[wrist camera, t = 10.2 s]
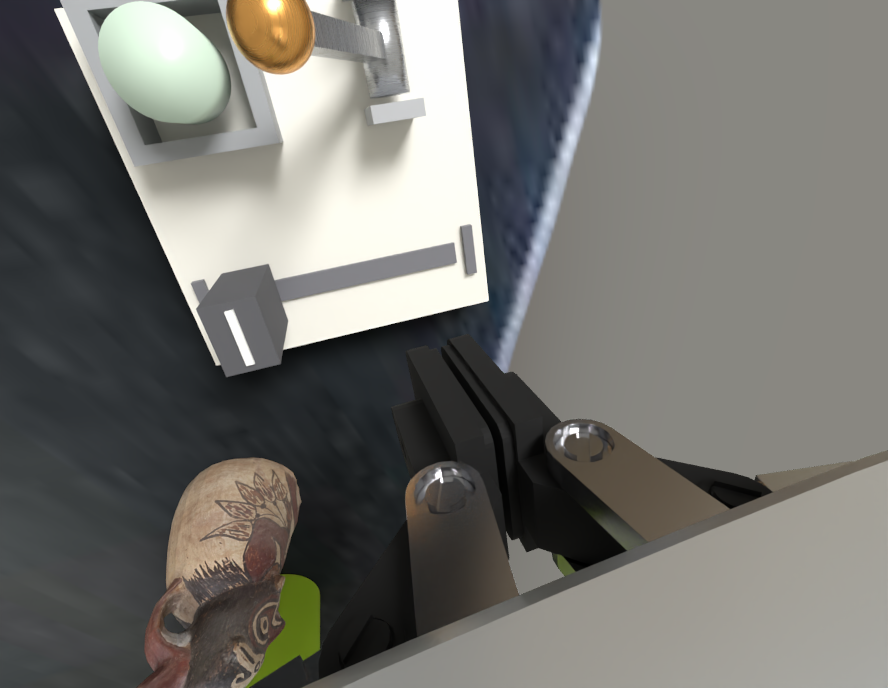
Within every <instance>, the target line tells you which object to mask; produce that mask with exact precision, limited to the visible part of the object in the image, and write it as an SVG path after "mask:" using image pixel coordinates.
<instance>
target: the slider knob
mask: <svg viewBox="0 0 888 688" xmlns="http://www.w3.org/2000/svg"><path fill="white" fill-rule="evenodd" d="M196 311H197V313H198V315H199V317H200V320H201V322H202V324H203V326H204V328H205V331H206V333H207V335H208V337H209V340H210V342H211V344H212V346H213V348H214V351H215V353H216V355H217V357H218V360H219V362H220V364H221V366H222V369H223V371H224V373H225V375H226V377H229V376H233V375H237V374H241V373H246V372H250V371H254V370H258V369H262V368H266V367H270V366H274V365H279V364H281V359H282V353H283V348H284V342H285V337H286V331H287V326H288V318H287V315H286V313H285V310H284V307H283V304H282V301H281V298H280V295H279V292H278V289H277V286H276V284H275V281H274V278H273V275H272V272H271V269H270V266H269V264H265V265H260V266H256V267H251V268H246V269H241V270H236V271H231V272H227V273H222V274H221V275H220V276H219V278H218V279H217V281H216V282H215V283H214V285H213V286H212V287H211V289H210V290H209V292H208V293H207V294H206V296H205V297H204V298H203V300H202V301H201V303H200V304H199V305H198V307H197V308H196Z"/></svg>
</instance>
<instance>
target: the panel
mask: <svg viewBox="0 0 888 688" xmlns="http://www.w3.org/2000/svg"><path fill="white" fill-rule="evenodd" d="M60 1H61V3H62V6H63V8H58V9H54V10H55V12H56V14H57V17H58V19H59V21H60V23H61V25H62V28H63V30H64V32H65V34H66V36H67V39H68V41H69V43H70V45H71V47H72V50H73V52H74V54H75V56H76V58H77V61H78V63H79V65H80V67H81V69H82V72H83V74H84V76H85V78H86V80H87V82H88V85H89V87H90V89H91V91H92V93H93V96H94V98H95V100H96V102H97V104H98V107H99V109H100V111H101V113H102V115H103V118H104V120H105V122H106V124H107V126H108V129H109V131H110V133H111V135H112V137H113V140H114V142H115V144H116V146H117V148H118V151H119V153H120V155H121V157H122V159H123V162H124V164H125V166H126V168H127V170H128V173H129V175H130V177H131V179H132V181H133V184H134V186H135V188H136V190H137V192H138V195H139V197H140V199H141V201H142V203H143V206H144V208H145V210H146V212H147V214H148V216H149V219H150V221H151V223H152V225H153V227H154V230H155V232H156V234H157V236H158V238H159V241H160V243H161V245H162V247H163V249H164V252H165V254H166V256H167V258H168V260H169V263H170V265H171V267H172V269H173V271H174V274H175V276H176V278H177V280H178V282H179V285H180V287H181V289H182V291H183V293H184V296H185V298H186V300H187V302H188V304H189V307H190V309H191V311H192V313H193V315H194V318H195V320H196V322H197V324H198V326H199V329H200V331H201V333H202V335H203V337H204V339H205V342H206V344H207V346H208V348H209V350H210V353H211V355H212V357H213V359H214V361H215V364H216V366H217V365H221V364H220V362H219V360H218V357H217V355H216V353H215V351H214V348H213V346H212V344H211V342H210V340H209V337H208V335H207V333H206V331H205V328H204V326H203V324H202V322H201V320H200V317H199V315H198V313H197V311H196V308H197V307H198V305H199V304H200V303H201V301H202V300H203V298H204V297H205V296H206V294H207V293H208V292H209V290H210V289H211V287H212V286H213V285H214V283H215V282H216V281H217V279H218V278H219V276H220V275H221V274H222V273H227V272H231V271H236V270H241V269H246V268H251V267H256V266H260V265H265V264H269V266H270V269H271V272H272V275H273V278H274V281H275V284H276V286H277V289H278V292H279V295H280V298H281V301H282V304H283V307H284V310H285V313H286V315H287V318H288V326H287V331H286V337H285V342H284V348H283V350H284V349H288V348H293V347H297V346H301V345H305V344H309V343H314V342H318V341H322V340H326V339H330V338H335V337H339V336H343V335H347V334H352V333H356V332H360V331H364V330H368V329H373V328H377V327H381V326H385V325H389V324H394V323H398V322H402V321H406V320H410V319H415V318H419V317H423V316H427V315H431V314H436V313H440V312H444V311H448V310H452V309H457V308H461V307H465V306H469V305H473V304H478V303H482V302H486V301H489V298H488V288H487V279H486V269H485V259H484V250H483V240H482V231H481V221H480V211H479V202H478V192H477V182H476V173H475V163H474V154H473V144H472V134H471V125H470V115H469V105H468V96H467V86H466V77H465V67H464V57H463V48H462V38H461V28H460V19H459V9H458V0H396V3H397V10H398V16H399V23H400V29H401V35H402V42H403V48H404V54H405V61H406V67H407V74H408V80H409V86H410V93H406V94H402V95H397V96H391V97H384V98H376V99H370V96H369V91H368V86H367V81H366V76H365V71H364V66H363V63H361V62H354V61H347V60H340V59H332V58H325V57H318V56H310V58H309V60H308V61H307V62H306V64H305V65H304V66H303V67H301V68H300V69H299V70H297V71H295V72H293V73H290V74H284V75H276V74H271V73H267V72H265V71H262V70H260V69H258V68H257V67H255V66H254V65H253V64H251V63H250V62H249V61H248V60H247V59H246V58H245V57H244V56H243V55H242V54H241V53H240V51H239V50H238V49H237V47H236V45H235V44H234V42H233V40H232V37H231V35H230V32H229V29H228V26H227V20H226V3H227V0H60ZM138 1H144V2H152V3H156V4H160V5H162V6H165V7H167V8H169V9H171V10H173V11H175V12H176V13H178V14H179V15H181V16H182V17H184V18H185V19H186V20H187V21H188V22H190V23H191V24H192V25H193V26H194V27H195V28H197V29H198V30H199V31H200V32H201V33H202V34H204V35H205V36H206V37H207V38H208V39H209V40H210V41H211V42H212V43H213V44H214V45H215V46H216V47H217V49H218V50H219V51H220V53H221V54H222V56H223V58H224V60H225V62H226V64H227V67H228V69H229V73H230V78H231V95H230V99H229V102H228V104H227V106H226V108H225V110H224V111H223V112H222V113H221V114H220V115H219V116H218V117H217V118H215V119H214V120H212V121H210V122H207V123H203V124H181V123H169V122H162V121H158V120H155V119H152V118H149V117H147V116H145V115H143V114H141V113H139V112H138V111H136V110H135V109H133V108H132V107H131V106H129V105H128V104H127V103H126V102H125V101H124V100H123V99H122V98H121V97H120V96H119V95H118V94H117V93H116V91H115V90H114V89H113V87H112V86H111V84H110V83H109V81H108V79H107V77H106V75H105V73H104V71H103V68H102V66H101V62H100V58H99V52H98V38H99V32H100V29H101V26H102V24H103V22H104V20H105V19H106V18H107V16H108V15H109V14H110V13H111V12H112V11H113V10H114V9H116V8H118V7H119V6H121V5H124V4H126V3H130V2H138ZM352 1H353V0H306V2H307V4H308V6H309V8H310V11H314V12H317V13H320V14H324V15H327V16H330V17H333V18H337V19H340V20H343V21H347V22H350V23H353V24H355V20H354V15H353V10H352V4H351V2H352Z"/></svg>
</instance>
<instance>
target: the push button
mask: <svg viewBox="0 0 888 688" xmlns="http://www.w3.org/2000/svg"><path fill="white" fill-rule="evenodd" d="M98 52H99V58H100V62H101V66H102V68H103V71H104V73H105V75H106V77H107V79H108V81H109V83H110V84H111V86H112V87H113V89H114V90H115V91H116V93H117V94H118V95H119V96H120V97H121V98H122V99H123V100H124V101H125V102H126V103H127V104H128V105H129V106H131V107H132V108H133V109H135V110H136V111H138V112H139V113H141V114H143V115H145V116H147V117H149V118H152V119H155V120H158V121H162V122H169V123H181V124H203V123H207V122H210V121H212V120H214V119H215V118H217V117H218V116H219V115H220V114H221V113H222V112H223V111H224V110H225V108H226V106H227V104H228V102H229V99H230V95H231V78H230V73H229V69H228V67H227V64H226V62H225V60H224V58H223V56H222V54H221V53H220V51H219V50H218V49H217V47H216V46H215V45H214V44H213V43H212V42H211V41H210V40H209V39H208V38H207V37H206V36H205V35H204V34H202V33H201V32H200V31H199V30H198V29H197V28H195V27H194V26H193V25H192V24H191V23H190V22H188V21H187V20H186V19H185V18H184V17H182V16H181V15H179V14H178V13H176V12H175V11H173V10H171V9H169V8H167V7H165V6H162V5H160V4H156V3H152V2H144V1H138V2H130V3H126V4H124V5H121V6H119V7H118V8H116V9H114V10H113V11H112V12H111V13H110V14H109V15H108V16H107V18H106V19H105V20H104V22H103V24H102V26H101V29H100V32H99V38H98Z"/></svg>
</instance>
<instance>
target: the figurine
mask: <svg viewBox="0 0 888 688" xmlns="http://www.w3.org/2000/svg"><path fill="white" fill-rule="evenodd" d="M300 504H301V499H300V495H299V487H298V486H297V482H296V478H295V476H294V474H293V472H291V471H290V470H289V469H288V468H286V467H285V466H283V465H281V464H278V463H276V462H273V461H270V460H267V459H263V458H241V459H231V460H225V461H223V462H220V463H217V464H214V465H212V466H210V467H209V468H207V469H205V470H204V471H202V472H200V473H199V474H198V475H197V476H196V477H195V478H194V479H193V480H192V481H191V482H190V484H189V485H188V486H187V488H186V489H185V491H184V493H183V495H182V497H181V499H180V502H179V504H178V507H177V509H176V511H175V514H174V518H173V521H172V526H171V532H170V538H169V544H168V553H167V569H166V585H167V591H166V592H165V594H164V595H163V596H162V597H161V599H160V600H159V601H158V602H157V603H156V605H155V607H154V610H153V612H152V615H151V617H150V620H149V623H148V626H147V628H146V633H145V650H144V651H145V655H146V658H147V662H148V663H149V665H150V666H151V668H152V669H153V671H155V672H153V673H152V674H151V675H150V676H149V677H147V678H146V679H145V680H144V681H143V682H142V683H141V684H140V685H139V686H138V687H137V688H245V687H246V686H247V685H248V684H249V683H250V681H251V680H252V679H253V678H254V676H255V675H256V674H257V673H258V671H259V669H260V667H261V666H262V664H263V662H264V658H265V653H266V650H267V648H268V646H269V645H270V644H271V643H272V642H273V641H274V640H275V639H276V638H277V636H278V635H279V634H280V633H281V631H282V630H283V629H284V627H285V621H284V619H283V618H282V617H281V616H280V614H279V612H278V608H279V604H280V593H281V590H282V588H283V585H284V582H285V577H284V576H283V575H280V573H281V570H282V568H283V565H284V562H285V559H286V555H287V551H288V547H289V543H290V539H291V536H292V533H293V531H294V529H295V526H296V524H297V521H298V514H299V507H300ZM169 613H173V614H174V616H175V618H176V619H177V621H178V622H179V623H180V624H181V625H182V626H183V627H184V628H185V629H186V630H185V631H183V632H181V633H179V634H177V633H171V632H169V631H168V630H167V629H166V628H165V626H164V617H165V616H167V615H168V614H169Z"/></svg>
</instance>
